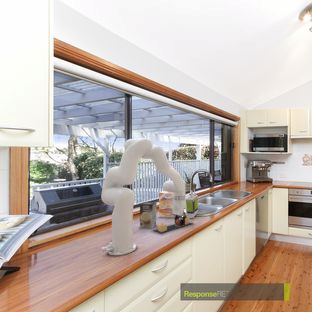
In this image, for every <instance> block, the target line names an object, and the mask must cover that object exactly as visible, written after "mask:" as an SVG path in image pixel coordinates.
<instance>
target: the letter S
mask: <svg viewBox="0 0 312 312" xmlns="http://www.w3.org/2000/svg"><path fill="white" fill-rule="evenodd" d="M181 220H182V219H181V217H179V219H176V226H181ZM182 226H183V225H182Z"/></svg>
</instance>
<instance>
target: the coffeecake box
mask: <svg viewBox="0 0 312 312" xmlns="http://www.w3.org/2000/svg"><path fill="white" fill-rule="evenodd" d="M158 201H159V202H158V218H174V215H173V212H172V211H173V201H174V192H166V191H165V190H163V191H160V192H159V193H158ZM178 217H179V218H180V216H178Z"/></svg>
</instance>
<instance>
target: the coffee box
mask: <svg viewBox="0 0 312 312" xmlns="http://www.w3.org/2000/svg"><path fill="white" fill-rule="evenodd" d="M157 205H158V204H157V202H150V201H149V202H147V201H144V202H142V203H140V204H139V228H140V229H153V228H155V227H156V226H157Z"/></svg>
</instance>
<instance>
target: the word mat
mask: <svg viewBox="0 0 312 312" xmlns="http://www.w3.org/2000/svg"><path fill="white" fill-rule="evenodd" d="M192 225H194V223H193V222H190V218H187V217H186V219H185V225H183V226H176V224H175V223H174V224H171V225H168V224H167V223H164V222H162V223H158V224H157V229H153V230H152V232H154V233H157V234H160V235H164V234H167V233H170V232H173V231H176V230H179V229H183V228H186V227H189V226H192Z"/></svg>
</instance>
